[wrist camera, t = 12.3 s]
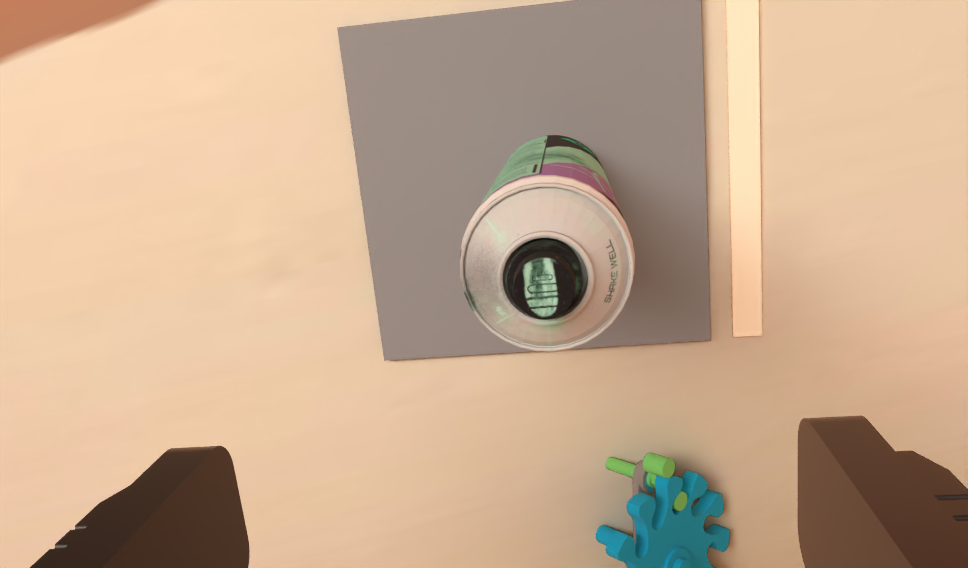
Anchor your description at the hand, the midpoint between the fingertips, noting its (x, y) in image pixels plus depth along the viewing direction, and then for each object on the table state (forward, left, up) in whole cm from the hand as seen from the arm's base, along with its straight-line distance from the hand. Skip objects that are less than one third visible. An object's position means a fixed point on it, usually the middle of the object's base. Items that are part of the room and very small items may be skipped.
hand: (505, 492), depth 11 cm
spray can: (0, 0, -31) cm, 31 cm away
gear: (-5, +20, -32) cm, 38 cm away
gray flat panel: (0, 0, -31) cm, 31 cm away
